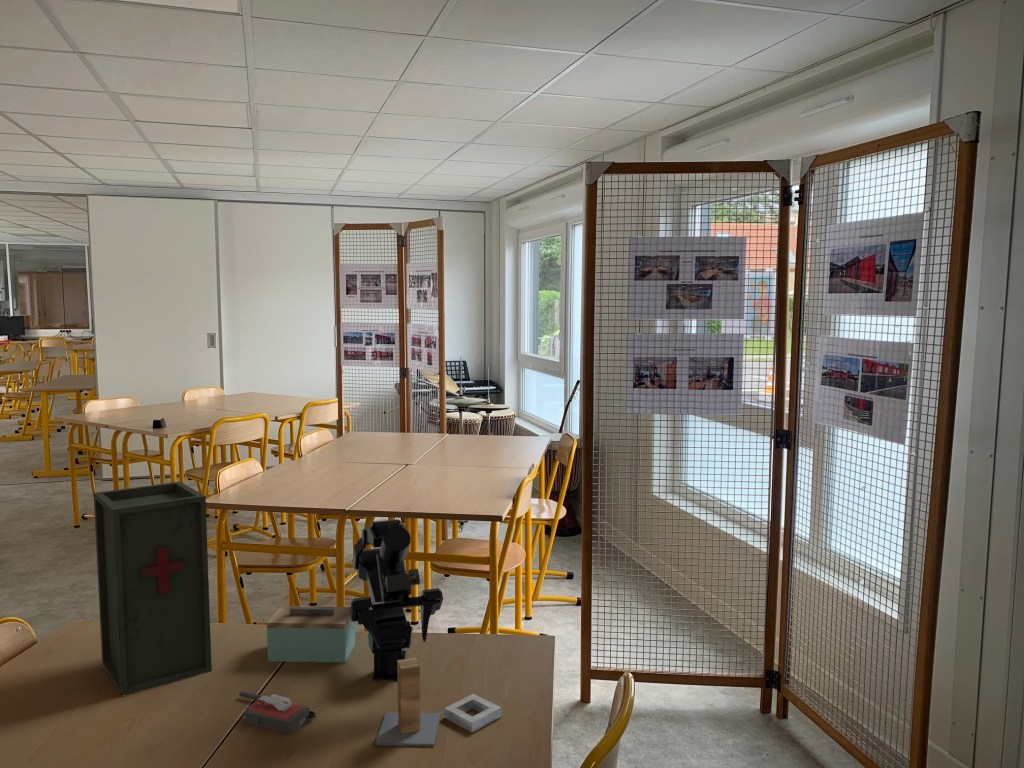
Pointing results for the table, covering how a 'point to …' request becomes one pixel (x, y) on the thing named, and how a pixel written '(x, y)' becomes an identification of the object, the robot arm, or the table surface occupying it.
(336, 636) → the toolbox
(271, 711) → the walkie-talkie
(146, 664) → the first aid box
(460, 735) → the table surface
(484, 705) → the white square ring
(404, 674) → the tall wooden block
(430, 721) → the grey square plate
